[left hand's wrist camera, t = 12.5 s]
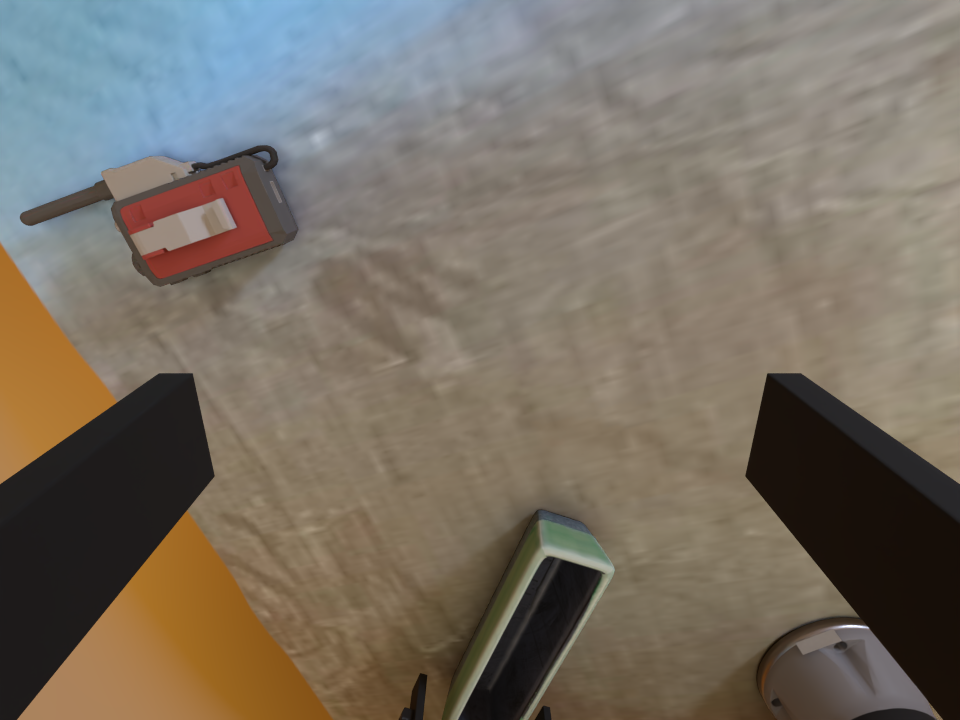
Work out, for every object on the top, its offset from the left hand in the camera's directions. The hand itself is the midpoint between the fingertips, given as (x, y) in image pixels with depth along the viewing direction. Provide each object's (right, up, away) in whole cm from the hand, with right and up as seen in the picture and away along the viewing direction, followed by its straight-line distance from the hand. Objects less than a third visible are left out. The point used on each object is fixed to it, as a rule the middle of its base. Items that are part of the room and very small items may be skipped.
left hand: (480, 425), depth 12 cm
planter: (+4, -24, +43) cm, 50 cm away
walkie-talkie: (-24, +12, +29) cm, 39 cm away
